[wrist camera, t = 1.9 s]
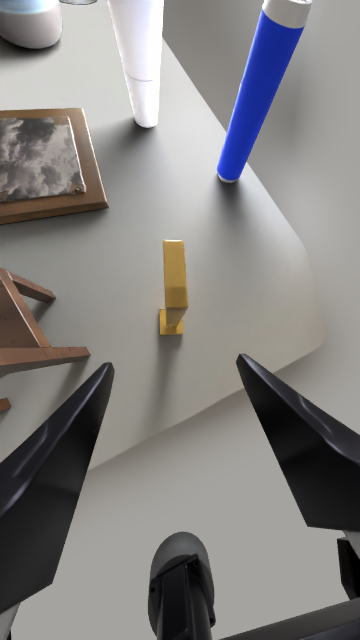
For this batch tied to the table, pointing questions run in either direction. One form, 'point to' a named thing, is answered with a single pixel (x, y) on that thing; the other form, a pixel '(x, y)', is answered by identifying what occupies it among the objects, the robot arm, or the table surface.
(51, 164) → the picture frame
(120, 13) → the stacked toilet paper rolls
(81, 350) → the brown legged wooden frame
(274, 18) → the beverage can
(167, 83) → the table surface
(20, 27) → the vase
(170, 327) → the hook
